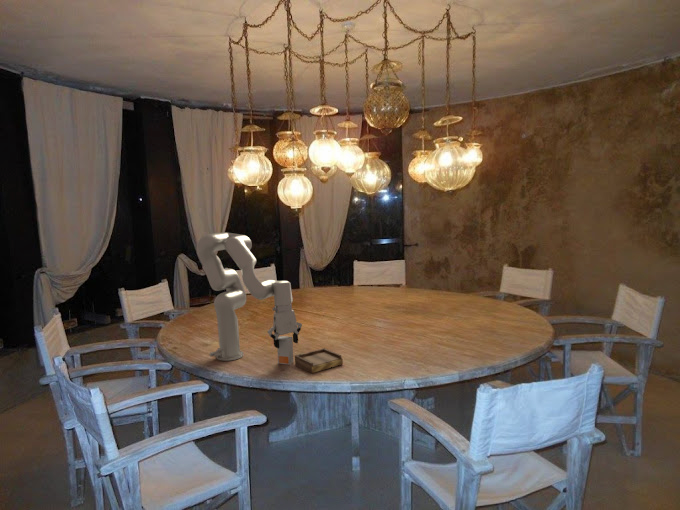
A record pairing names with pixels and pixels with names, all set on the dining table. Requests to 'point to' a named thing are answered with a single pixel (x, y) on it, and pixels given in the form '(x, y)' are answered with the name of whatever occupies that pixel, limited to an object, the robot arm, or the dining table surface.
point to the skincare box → (285, 350)
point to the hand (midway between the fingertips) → (286, 345)
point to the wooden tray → (318, 360)
